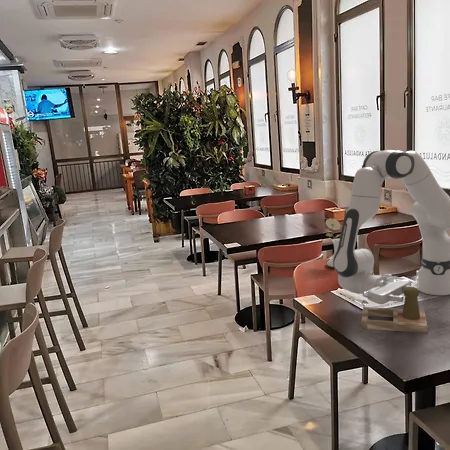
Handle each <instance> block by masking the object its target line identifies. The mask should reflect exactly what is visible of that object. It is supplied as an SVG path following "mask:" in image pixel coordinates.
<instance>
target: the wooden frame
mask: <svg viewBox="0 0 450 450" xmlns="http://www.w3.org/2000/svg"><path fill="white" fill-rule="evenodd" d="M419 313H420V318H419V319H417V320H409V319H405V318H404V317H403V316H402V315H403V308H392V307H390V308H389V307H374V306H373V307H372V306H371V307H370V306H363V307H362V314H361V329H362V330H363V329H364V330H374V331H375V330H376V331H377V330H378V331H392V332H404V333H405V332H408V333H422V334H424V333H425V334H427V333H428V324H427V323H428V322H427V318H426V312H425V309H419ZM369 317H383V318H385V317H386V318H392V320H376V319H369Z"/></svg>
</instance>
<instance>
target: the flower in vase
mask: <svg viewBox="0 0 450 450" xmlns="http://www.w3.org/2000/svg"><path fill="white" fill-rule="evenodd" d="M324 224H325V225H326V227H327V228H329V229H330V232H331V233H330V232H327V233H326V234H325V236H327V237H330V238H331V237H333V239H331V242H332V244H333V250H334V253H333V254H332V256H330V257H329V258H328V259H330V260H329V261H328V262H327V264H326V266H328V267H331V268H334V266H333V259H334V256H335V254H336V252H337V249H338V245H339V240H340V238H338V237H340V235H341V234H336V236H335V237H334V235H333V230H334V231H337V230H340V229H341V227H342V226H341V223H340V221H338V220H336V219H335V218H327V219H326V220H325V223H324Z"/></svg>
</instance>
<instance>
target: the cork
mask: <svg viewBox="0 0 450 450" xmlns="http://www.w3.org/2000/svg"><path fill="white" fill-rule="evenodd" d="M419 294H420V291H419V290H418V289H417V288H415V287H413V286H411V287H407V288H405V289H404V293H403V297H404V300H403V302H404V303H403V308H402V309H403V315H402V316H403V317H404V318H405V319H409V320H417V319H419V318H420V313H419V310H420V306H419V299H418V297H419Z"/></svg>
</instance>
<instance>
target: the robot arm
mask: <svg viewBox="0 0 450 450" xmlns="http://www.w3.org/2000/svg"><path fill="white" fill-rule="evenodd" d="M386 179H395V180H399V179H400V180H401V181H402V183H403V185H404V187H405V188H406V190H407V191H408V193H409V196H410V197H411V198H412V200H414V201H415V202H414V203H413V204H412V207H411V215H412V217H413V218H414V219H415V220H416V222H417V225H418V227H419V232H420V234H421V239H422V257H421V266H420V268H419V269H418V270H416V272H415V274H416V275H415V276H416V278H415V281H414V283H413V285H412V281H410V279H406V278H403V277H399V276H395V275H392V274H391V273H384V274H373V272H374V268H375V256H374V254H373V252H372V251H371V250H369V249H368V248H356V243H357V238H358V233H359V230H360V228H362V226H363V225H364V224H365V223H367V221H369V220H370V219H372V218H373V217H375V216H376V214H378V212H379V210H380V206H381V196H382V186H383V183H384V181H385V180H386ZM446 230H447V231H448V230H450V195H449V194H448V193H446V191H445V190H444V189H443V188H442V187H441V186H440V184H439V183H438V180H437V179H436V177H435V176H434V173H432V171H431V169H430V167H429V165H428V164H427V162H426V161H425V160H424V158H423V157H422V156H421V155H420V154H419V153H418V152H416V151H415V150H407V151H403V150H399V149H398V150H394V149H393V150H392V149H386V150H385V149H384V150H375V151H372V152H370V153H368V154H367V155H366V156H365V158H364V160H363V163H362V165H361V167H360V168H359V169H358V170H357V171H356V172H355V175H354V177H353V182H352V187H351V195H350V201H349V205H348V209H347V212H346V213H345V215H344V217H343V221H342V226H341V230H340V234H339V235H340V236H339V239H340V240H339V245H338V249H337V252H336V254H335V256H334V259H333V266H334V267H333V269H334V271H335V272H336V273H337V274H338V275H337V282H338V284H339V286H340V288H342V289H344V290H345V291H348V292H351V293H354V294H357V295H358V294H359V295H360V294H361V295H362V297H364V298H367V300H368V301H371V302H373V303H375V304H378V305H385V304H386V303H389V302H398V303H402V302H404V301H405V296H404V289H405V288H407V287H415V288H417V289H418V291H419V292H421V293H423V294H427V295H431V296H449V295H450V236H449V234H448V232H447V231H446ZM355 248H356V249H355Z"/></svg>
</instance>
